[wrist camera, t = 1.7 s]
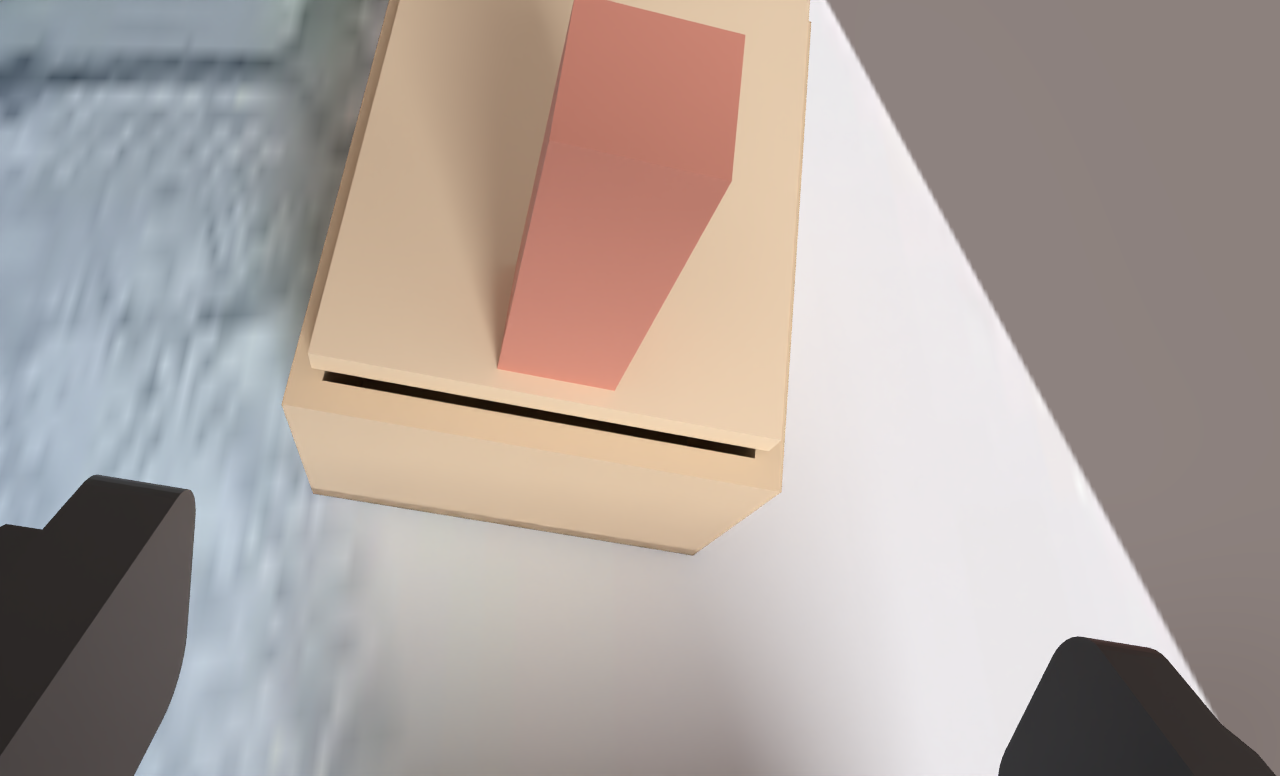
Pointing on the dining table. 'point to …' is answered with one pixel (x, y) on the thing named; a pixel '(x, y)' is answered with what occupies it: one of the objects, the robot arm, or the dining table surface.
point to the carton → (514, 440)
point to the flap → (579, 211)
